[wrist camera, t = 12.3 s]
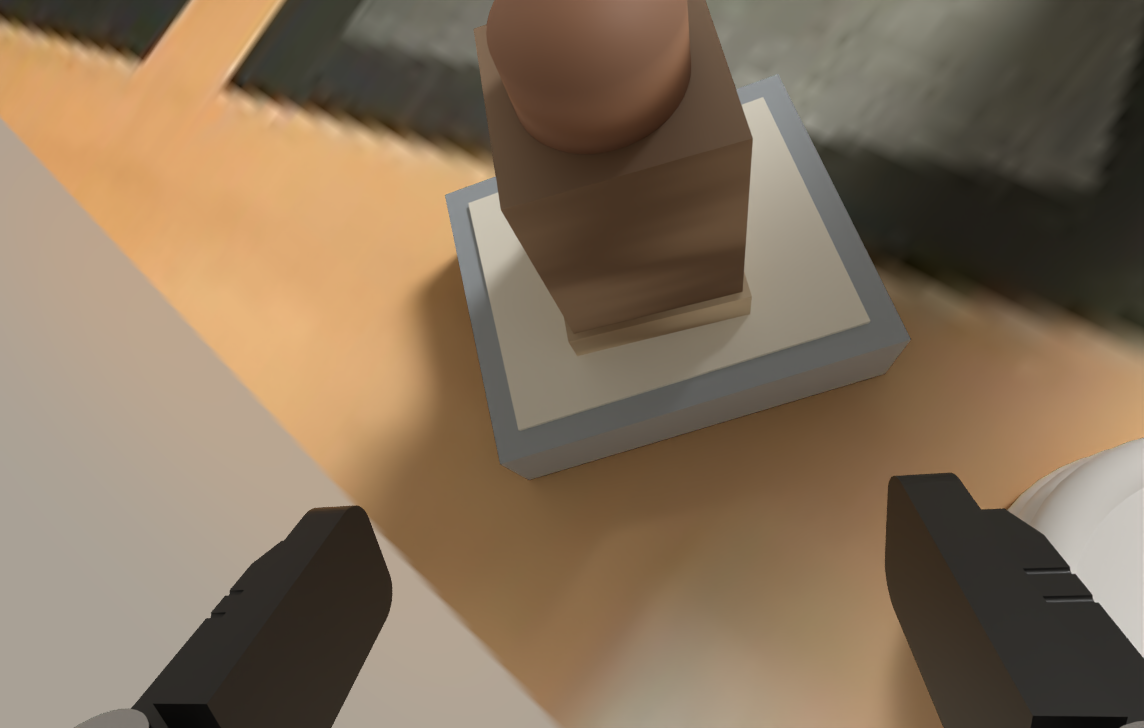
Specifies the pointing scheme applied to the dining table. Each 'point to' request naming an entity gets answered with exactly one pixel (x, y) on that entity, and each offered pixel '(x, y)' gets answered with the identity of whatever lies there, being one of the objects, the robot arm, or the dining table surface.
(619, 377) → the dock
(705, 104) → the dome-topped square block
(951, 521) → the robot arm
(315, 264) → the dining table surface
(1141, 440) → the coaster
